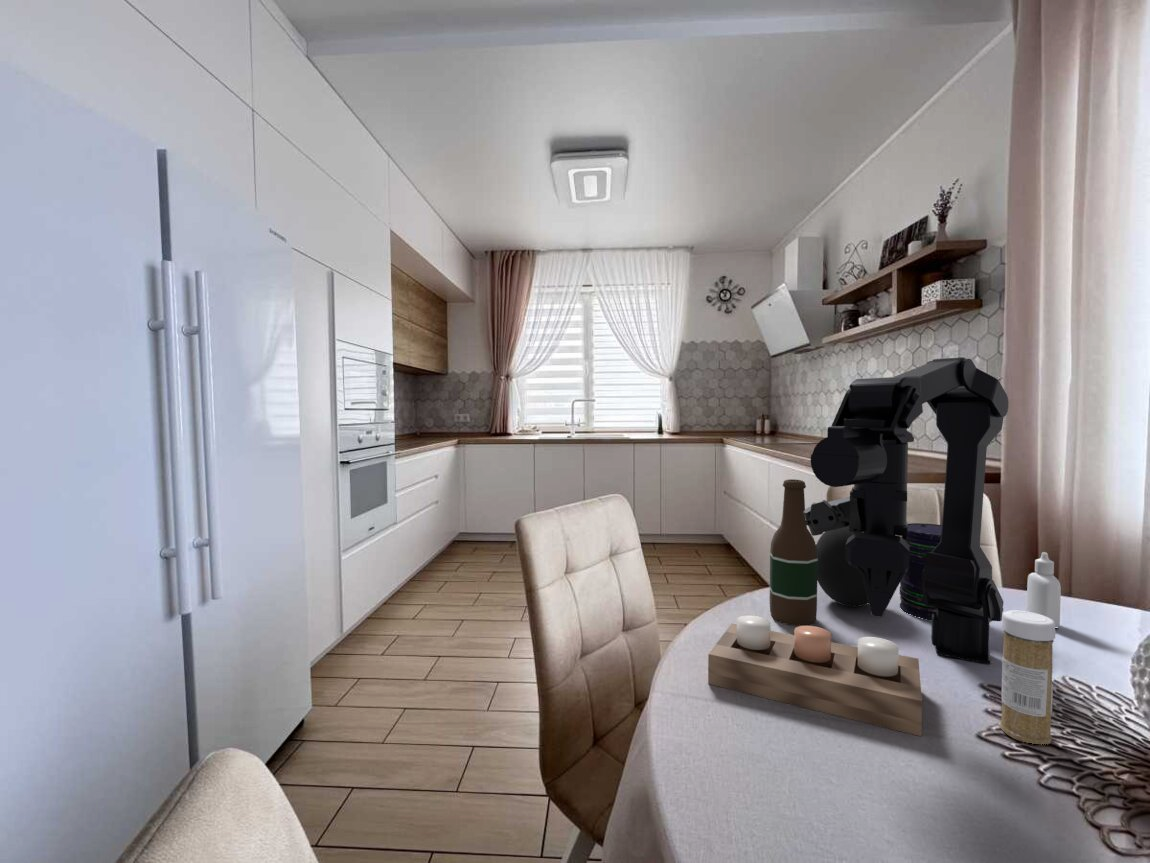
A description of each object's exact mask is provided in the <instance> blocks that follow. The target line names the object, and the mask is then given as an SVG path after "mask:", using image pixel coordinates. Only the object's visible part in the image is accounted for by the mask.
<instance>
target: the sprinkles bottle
mask: <svg viewBox="0 0 1150 863" xmlns="http://www.w3.org/2000/svg"><path fill="white" fill-rule="evenodd" d="M1001 629H1002V633H1003V650H1002V651H1003V654H1002V660H1001V661H1002V664H1001V665H1002V667H1001V668H1002V669H1001V720H1000V723H999V726H1000V729H1001V730H1002V731H1003V732H1004V733H1005V734H1006V735H1008V737H1011V738H1013V739H1014V740H1016V741H1019V742H1021V741H1022V742H1021V743H1024V742H1026V743H1025V744H1028V743H1032V744H1031V745H1033V744H1041V745H1040V746H1046V744H1047V745H1049V744H1051V742H1052V740H1053V738H1052V734H1051V729H1052V712H1053V693H1054V692H1053V689H1054V688H1053V651H1054V650H1053V643H1054V642H1055V641H1054V640H1055V639H1056V629H1055V622H1054V621H1053V620H1052V619H1050V618H1048V617H1046V616H1043V615H1040V614H1037V613H1032V612H1027V610H1026V611H1025V610H1006V611H1003V612H1002V621H1001ZM1042 744H1043V745H1042ZM1044 744H1045V745H1044Z"/></svg>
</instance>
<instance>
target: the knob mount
mask: <svg viewBox="0 0 1150 863" xmlns="http://www.w3.org/2000/svg"><path fill="white" fill-rule="evenodd" d="M707 655H708V658H707V660H708V663H707V664H708V666H707V668H708V670H707V671H708V673H707V679H708V680H707V681H708V682H707V683H708V685H712V686H716V687H721V688H724V689H729V690H731V691H737V692H739V693H740V692H741V693H744V694H747V695H753V696H756V697H760V698H765V699H769V700H773V701H776V702H781V703H783V704H784V703H785V704H788V705H789V704H790V705H793V706H797V707H801V708H805V709H810V710H814V711H818V712H821V713H826V714H829V715H834V716H837V717H842V718H846V719H850V720H854V721H858V722H863V723H866V724H871V725H874V726H878V727H882V728H887V729H891V730H895V731H899V732H903V733H906V734H911V735H915V736H919V737H922V729H923V728H922V724H923V723H922V722H923V721H922V720H923V716H922V715H923V697H922V696H923V694H922V686H921V684H922V683H921V674H920V663H919V662H920V661H919V658H916V657H912V656H906V655H902V654H898V674H897V675H895V676H888V677H887V676H878V675H873V674H870V673H868V672H865V671H863V670H862V669H860V668H859V667H858V646H853V645H847V644H842V643H837V642H833V641H831V659H830V660H829V661H827V662H810V661H806V660H803V659H801V658H799V657H797V656H796V655H795V653H794V634H790V633H789V634H788V633H785V632H779V631H774V630H771V633H770V647H769V648H767V649H763V650H753V649H748V648H745V647H742V646H740V645H739V644H738V643H737V623H731V624H730V625H728V628H727V629H726V630H725V632H724V633H723V634H722V635H721V636H720V638H719V639H718V640H717V642H715V645H713V647H712V648H711V650H710V651H709V652H708V653H707Z"/></svg>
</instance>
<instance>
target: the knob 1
mask: <svg viewBox="0 0 1150 863" xmlns="http://www.w3.org/2000/svg"><path fill="white" fill-rule="evenodd" d="M736 624H737V643H738V644H739V645H740V646H742V647H745V648H748V649H753V650H763V649H767V648H769V647H770V633H771V631H772V630H771V629H772V628H771V626H772V625H771V624H772V622H771V621H770V620H768V619H767V618H765V617H762V616H757V615H740V616H739V617H737V619H736Z"/></svg>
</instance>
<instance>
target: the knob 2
mask: <svg viewBox="0 0 1150 863" xmlns="http://www.w3.org/2000/svg"><path fill="white" fill-rule="evenodd" d="M857 647H858V667H859V668H860V669H862V670H863V671H865V672H868V673H870V674H873V675H878V676H887V677H888V676H895V675H897V674H898V655H899V645H898V644H897V643H895V642H893V641H892V640H891V641H890V640H888V639H885V638H881V637H877V636H876V637H875V636H862V637H860V638H858V640H857Z"/></svg>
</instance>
